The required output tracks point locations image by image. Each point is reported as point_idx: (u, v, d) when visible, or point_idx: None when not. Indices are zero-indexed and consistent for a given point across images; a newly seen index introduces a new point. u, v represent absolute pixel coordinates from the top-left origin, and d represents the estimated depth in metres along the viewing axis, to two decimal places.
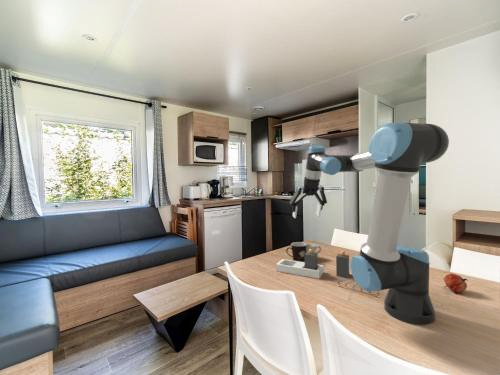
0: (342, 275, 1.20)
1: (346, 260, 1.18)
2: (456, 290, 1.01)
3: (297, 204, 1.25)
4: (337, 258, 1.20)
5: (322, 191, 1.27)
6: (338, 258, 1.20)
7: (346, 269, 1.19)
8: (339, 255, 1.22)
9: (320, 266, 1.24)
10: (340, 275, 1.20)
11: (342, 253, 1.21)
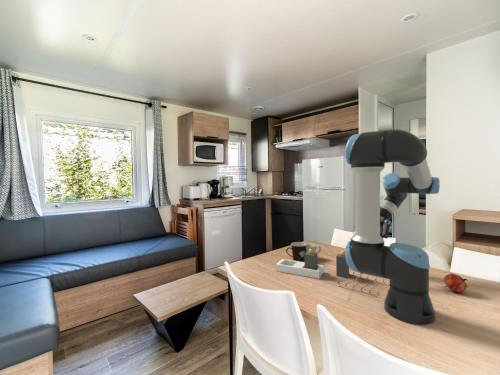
0: (342, 275, 1.20)
1: None
2: (456, 290, 1.01)
3: None
4: (337, 258, 1.20)
5: (385, 222, 1.20)
6: (338, 258, 1.20)
7: (346, 269, 1.19)
8: (339, 255, 1.22)
9: (320, 266, 1.24)
10: (340, 275, 1.20)
11: (342, 253, 1.21)
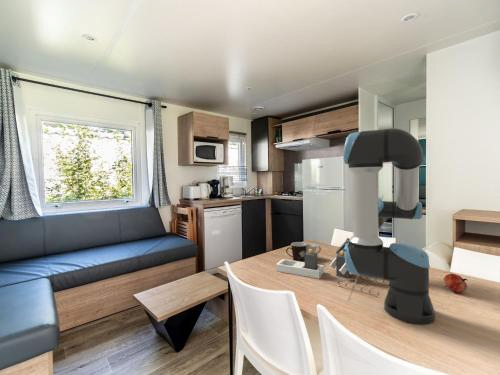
0: (342, 275, 1.20)
1: None
2: (456, 290, 1.01)
3: None
4: (337, 258, 1.20)
5: None
6: (338, 258, 1.20)
7: None
8: (339, 255, 1.22)
9: (320, 266, 1.24)
10: (340, 275, 1.20)
11: (342, 253, 1.21)
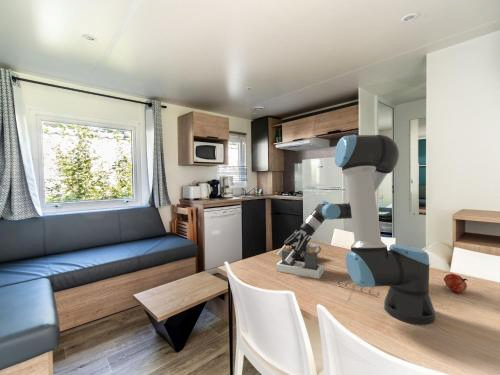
0: None
1: None
2: (456, 290, 1.01)
3: (286, 243, 1.35)
4: (282, 252, 1.29)
5: (304, 238, 1.26)
6: (283, 252, 1.29)
7: (290, 262, 1.27)
8: (285, 250, 1.31)
9: (320, 266, 1.24)
10: None
11: (287, 248, 1.29)
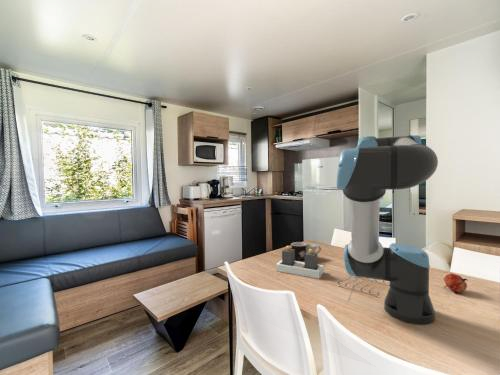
0: None
1: (290, 254, 1.27)
2: (456, 290, 1.01)
3: None
4: (282, 252, 1.29)
5: None
6: (283, 252, 1.29)
7: (290, 262, 1.27)
8: (285, 250, 1.31)
9: (320, 266, 1.24)
10: None
11: (287, 248, 1.29)
